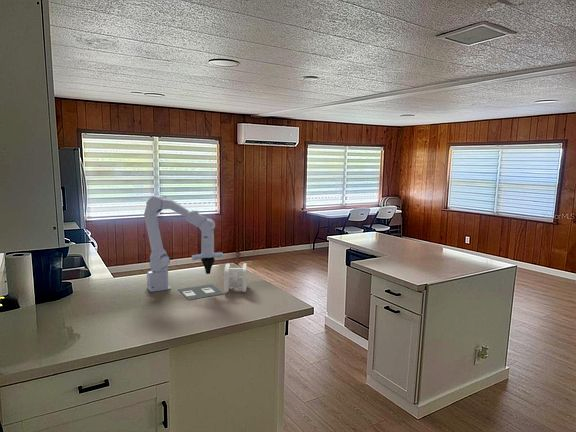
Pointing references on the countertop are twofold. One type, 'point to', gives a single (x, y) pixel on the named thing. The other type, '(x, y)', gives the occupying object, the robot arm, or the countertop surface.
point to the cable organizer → (235, 277)
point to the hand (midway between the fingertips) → (207, 273)
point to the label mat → (200, 292)
